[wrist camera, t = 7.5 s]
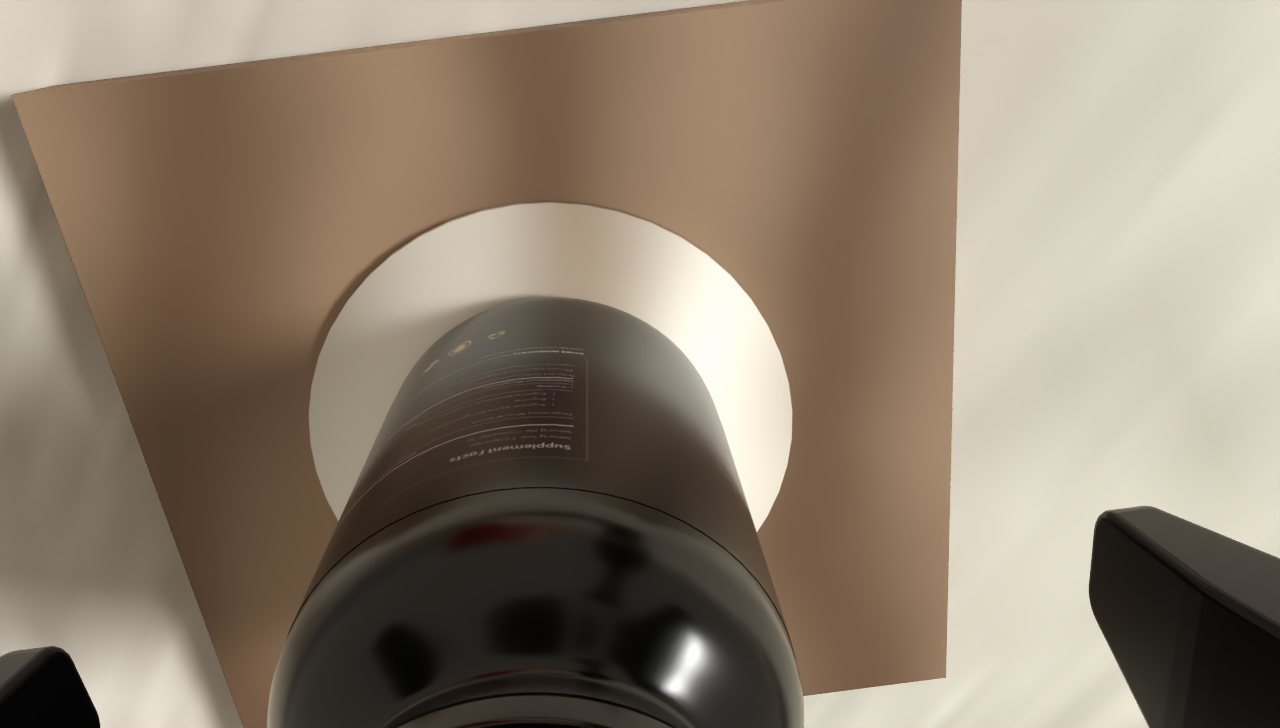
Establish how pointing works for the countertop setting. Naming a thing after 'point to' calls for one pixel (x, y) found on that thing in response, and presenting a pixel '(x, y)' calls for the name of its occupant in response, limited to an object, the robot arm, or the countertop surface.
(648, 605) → the supplement bottle
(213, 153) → the walnut board
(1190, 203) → the countertop surface
